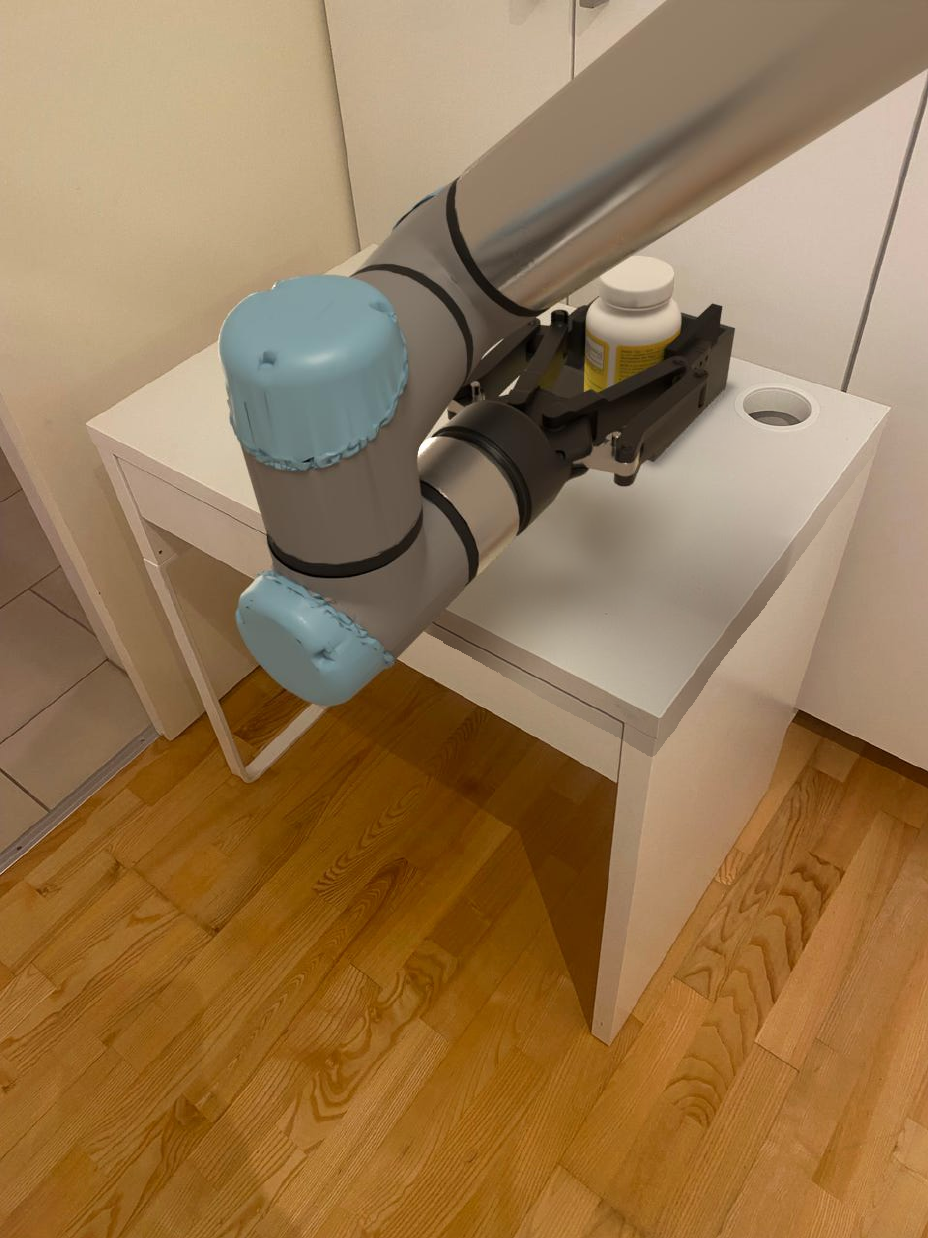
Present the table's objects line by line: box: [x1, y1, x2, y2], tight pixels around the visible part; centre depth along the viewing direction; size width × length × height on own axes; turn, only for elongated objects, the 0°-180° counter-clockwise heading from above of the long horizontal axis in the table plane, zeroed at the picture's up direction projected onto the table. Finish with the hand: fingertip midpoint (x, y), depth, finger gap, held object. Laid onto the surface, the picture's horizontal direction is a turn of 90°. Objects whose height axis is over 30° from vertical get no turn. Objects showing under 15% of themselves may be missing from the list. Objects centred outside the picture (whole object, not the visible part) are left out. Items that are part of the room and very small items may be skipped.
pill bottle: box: [584, 255, 681, 440], centre depth 64 cm, size 6×6×11 cm
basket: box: [526, 295, 736, 462], centre depth 92 cm, size 14×14×6 cm
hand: (668, 310), depth 66 cm, fingers closed on pill bottle, 6 cm apart
